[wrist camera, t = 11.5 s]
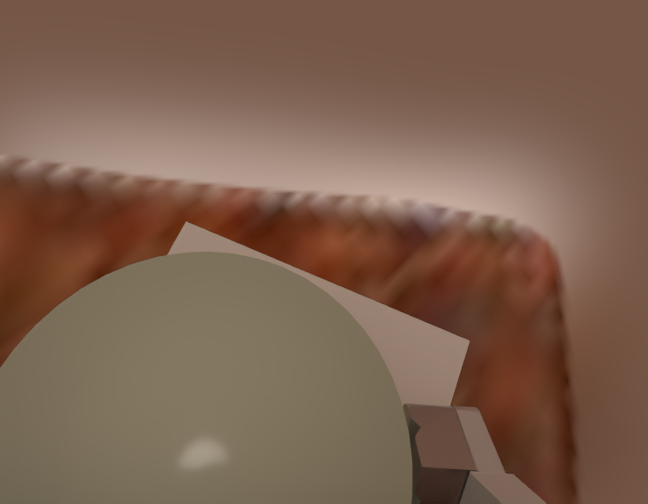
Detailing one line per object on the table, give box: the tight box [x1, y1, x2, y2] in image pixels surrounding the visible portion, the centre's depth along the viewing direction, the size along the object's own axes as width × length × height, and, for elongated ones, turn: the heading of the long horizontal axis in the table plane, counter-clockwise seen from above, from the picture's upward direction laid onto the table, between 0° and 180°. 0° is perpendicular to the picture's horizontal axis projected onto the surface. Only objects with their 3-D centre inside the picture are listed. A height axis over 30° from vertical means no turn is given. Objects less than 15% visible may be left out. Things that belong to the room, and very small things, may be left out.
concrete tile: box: [167, 222, 470, 406], centre depth 17 cm, size 12×12×1 cm
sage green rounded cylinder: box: [0, 252, 412, 504], centre depth 11 cm, size 6×6×10 cm
